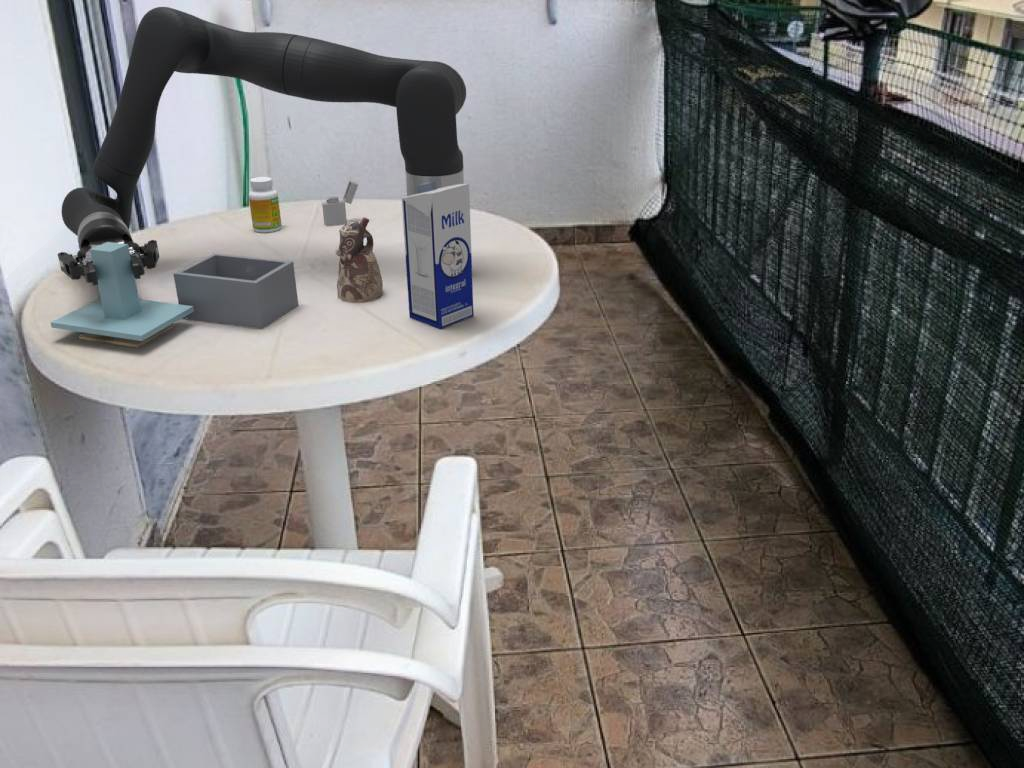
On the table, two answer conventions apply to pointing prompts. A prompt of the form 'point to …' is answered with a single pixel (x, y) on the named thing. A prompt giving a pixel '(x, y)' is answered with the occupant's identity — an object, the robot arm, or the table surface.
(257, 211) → the supplement bottle
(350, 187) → the lighter
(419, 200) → the milk carton
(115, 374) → the table surface
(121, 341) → the mat
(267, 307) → the tub
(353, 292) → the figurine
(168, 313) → the lid
